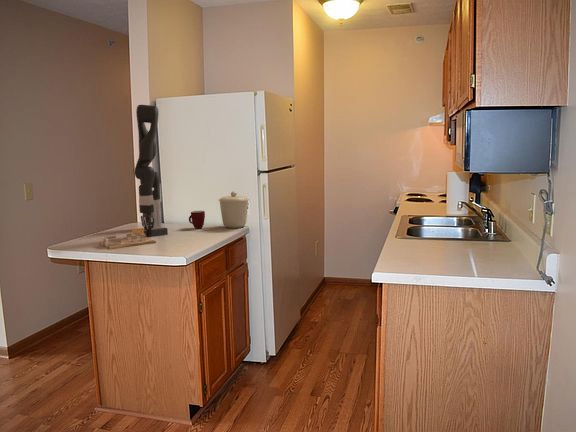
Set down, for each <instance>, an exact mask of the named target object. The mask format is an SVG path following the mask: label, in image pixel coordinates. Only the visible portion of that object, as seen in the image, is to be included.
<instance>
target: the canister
mask: <svg viewBox="0 0 576 432" xmlns="http://www.w3.org/2000/svg"><path fill="white" fill-rule="evenodd" d="M218 201H219V207H220V213H221V221H222V225H223V226H224V227H225V228H230V229H238V228H243V227H245V226H246V224H247V218H248V208H249V207H248V205H249V201H250V198H248V197H247V196H243V195H237V191H231V192H230V195H227V196H222V197H220V198H219V199H218Z"/></svg>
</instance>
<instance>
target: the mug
mask: <svg viewBox="0 0 576 432" xmlns="http://www.w3.org/2000/svg"><path fill="white" fill-rule="evenodd" d="M205 213H206V212H205V210H191V211H190V215H189V217H188V221H189V223H190V224H192V226H193V228H194V229H195V230H201V229H203V227H204V225H205V220H206V219H205V218H206V214H205Z"/></svg>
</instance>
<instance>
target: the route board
mask: <svg viewBox="0 0 576 432" xmlns="http://www.w3.org/2000/svg"><path fill="white" fill-rule="evenodd" d="M125 234H126V238H123V239H122V238H121V237H116V235H110V236H109V235H108V236H102V237H101V241H100V242H99V244H100V245H101V246H103V247H105V248H107V249H109V250H114V249H123V248H129V247H136V246H143V245H150V244H151V245H152V244H157V240H156V239H155V240H154V239H152V238H151V237H146V234H140V232H135V235H132V232H126V233H125Z"/></svg>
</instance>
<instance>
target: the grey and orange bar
mask: <svg viewBox="0 0 576 432" xmlns="http://www.w3.org/2000/svg"><path fill="white" fill-rule="evenodd" d="M135 232H140V234H146V237H147V238H152V237H153V238H154V237H160V236H168V235H169V234H168V233H169V232H168V228H167V227H161V228H156V229H151V232H152V235H151V236H147V230H144V228H140V227H139V228H133V229H131V233H132V235H135Z"/></svg>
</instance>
